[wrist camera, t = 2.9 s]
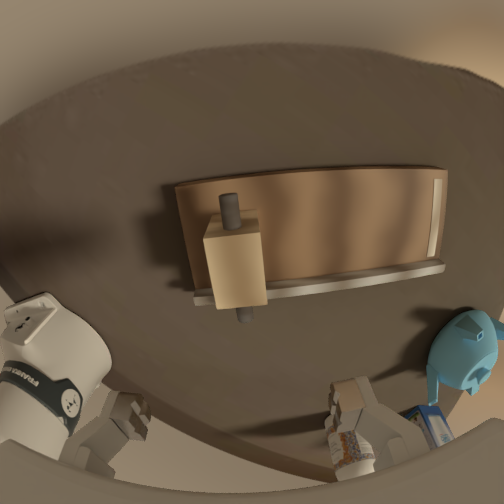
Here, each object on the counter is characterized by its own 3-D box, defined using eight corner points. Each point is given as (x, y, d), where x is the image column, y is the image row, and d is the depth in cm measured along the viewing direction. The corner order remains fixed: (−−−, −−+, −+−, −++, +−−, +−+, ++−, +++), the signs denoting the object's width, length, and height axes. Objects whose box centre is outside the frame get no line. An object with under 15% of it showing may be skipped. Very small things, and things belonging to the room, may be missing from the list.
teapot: (403, 371, 38) (428, 418, 28) (450, 297, 32) (490, 341, 22) (454, 367, 40) (478, 404, 30) (494, 305, 34) (527, 339, 24)
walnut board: (201, 291, 30) (196, 309, 27) (179, 183, 25) (170, 190, 22) (428, 262, 30) (443, 275, 26) (437, 167, 25) (456, 172, 22)
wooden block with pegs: (226, 295, 28) (222, 332, 23) (208, 187, 24) (196, 204, 18) (265, 291, 28) (269, 328, 22) (253, 182, 24) (256, 196, 18)
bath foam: (335, 406, 40) (360, 506, 22) (366, 406, 41) (396, 496, 23) (317, 425, 43) (335, 517, 25) (347, 425, 44) (369, 509, 26)
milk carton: (438, 406, 46) (468, 468, 27) (420, 421, 48) (446, 482, 30) (418, 405, 44) (449, 476, 25) (398, 421, 46) (424, 491, 28)
